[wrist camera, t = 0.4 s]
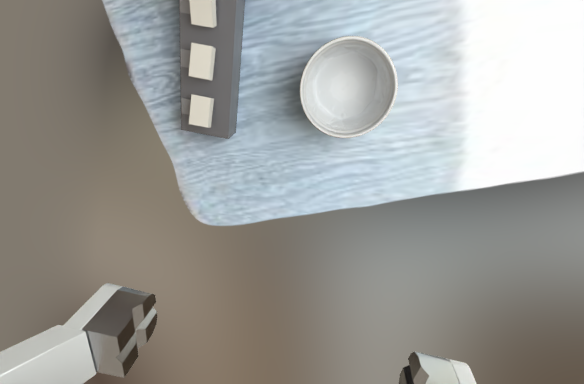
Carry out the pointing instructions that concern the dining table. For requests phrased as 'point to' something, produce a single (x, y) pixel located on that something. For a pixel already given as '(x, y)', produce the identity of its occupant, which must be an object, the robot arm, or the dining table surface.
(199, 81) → the power strip
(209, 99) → the block
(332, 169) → the dining table surface
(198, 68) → the rocker
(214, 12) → the rocker
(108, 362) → the robot arm
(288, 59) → the dining table surface
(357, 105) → the ramekin
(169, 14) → the dining table surface
